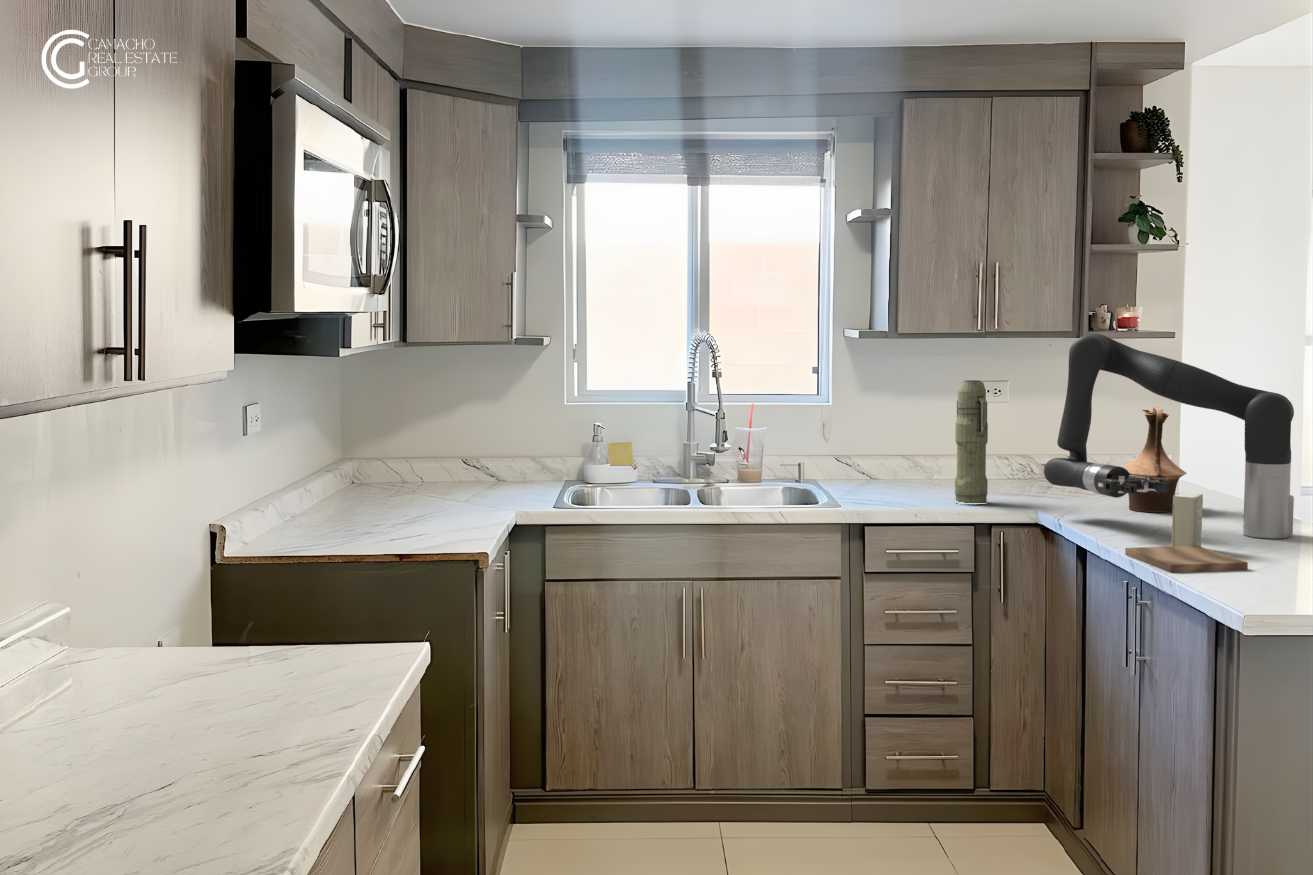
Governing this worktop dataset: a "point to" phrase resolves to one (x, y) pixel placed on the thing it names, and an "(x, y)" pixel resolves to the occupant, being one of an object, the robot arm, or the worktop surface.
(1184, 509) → the skincare box
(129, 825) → the worktop surface
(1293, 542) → the worktop surface
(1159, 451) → the pitcher
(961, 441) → the thermos
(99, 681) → the worktop surface
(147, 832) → the worktop surface
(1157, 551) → the walnut board
